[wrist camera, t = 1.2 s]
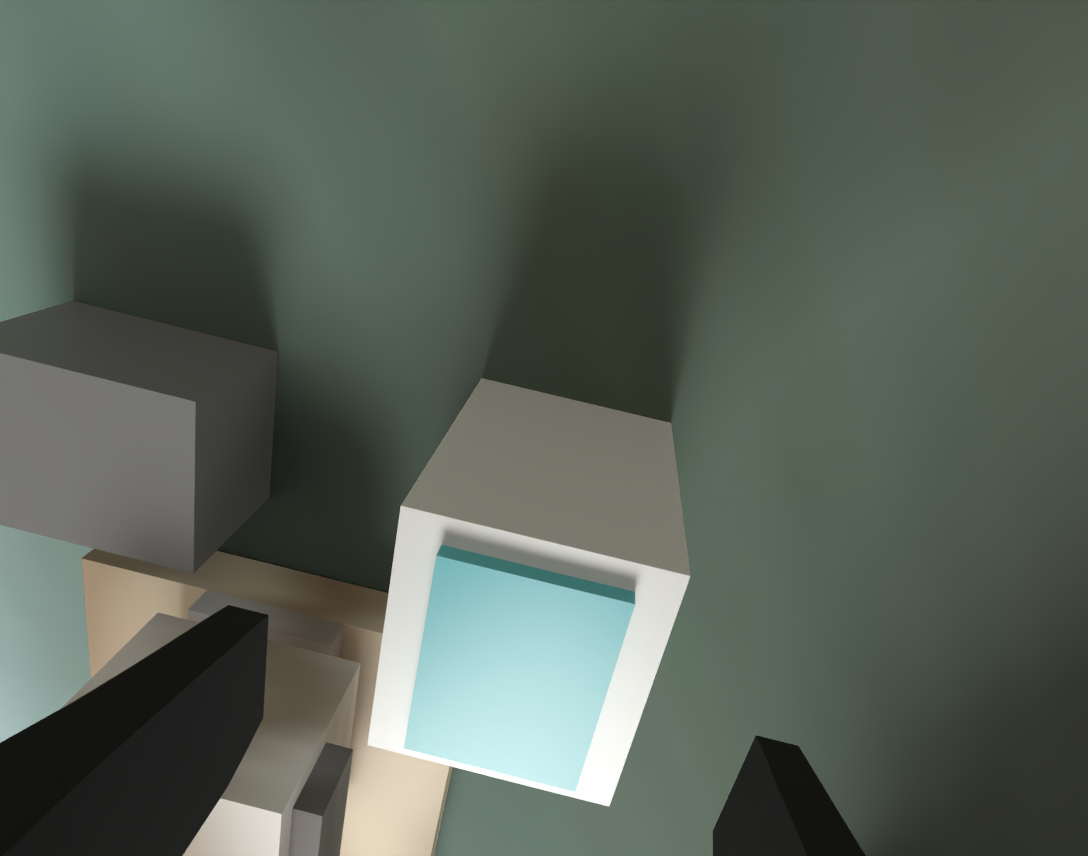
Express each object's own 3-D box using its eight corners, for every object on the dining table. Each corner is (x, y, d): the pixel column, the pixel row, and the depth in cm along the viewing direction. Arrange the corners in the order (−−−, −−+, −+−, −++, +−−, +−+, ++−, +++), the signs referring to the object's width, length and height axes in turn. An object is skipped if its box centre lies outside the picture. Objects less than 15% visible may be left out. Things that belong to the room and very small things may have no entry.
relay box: (281, 349, 16) (195, 401, 13) (272, 495, 18) (193, 573, 15) (77, 299, 16) (-58, 338, 13) (85, 448, 18) (-33, 516, 15)
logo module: (670, 422, 16) (691, 588, 10) (617, 598, 18) (608, 821, 12) (482, 377, 16) (394, 515, 10) (449, 557, 18) (361, 758, 12)
